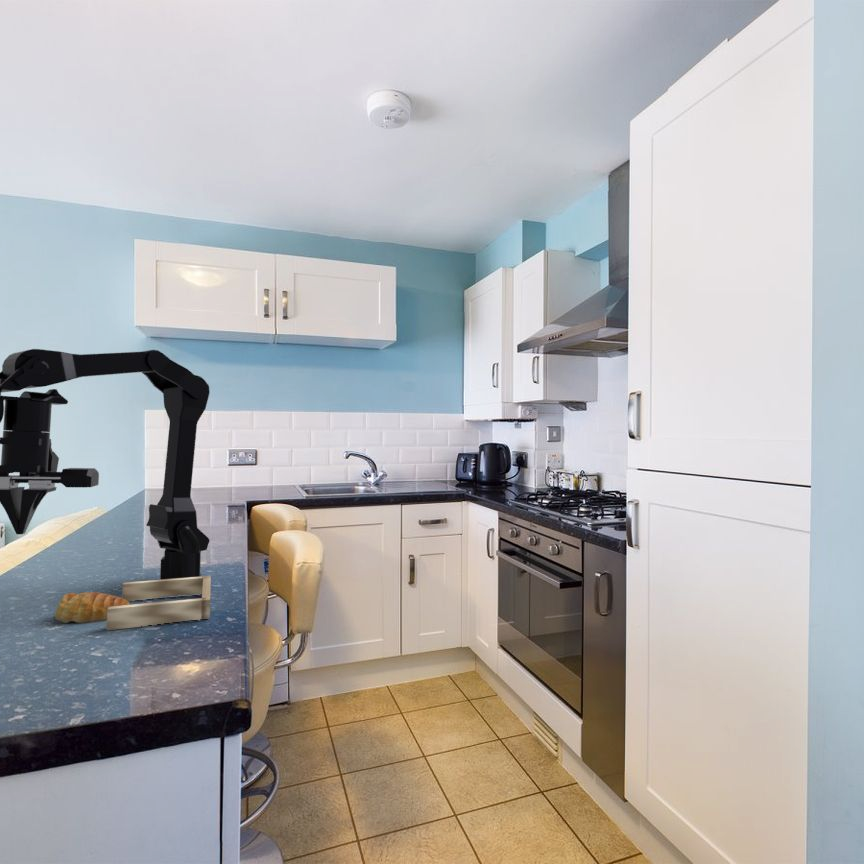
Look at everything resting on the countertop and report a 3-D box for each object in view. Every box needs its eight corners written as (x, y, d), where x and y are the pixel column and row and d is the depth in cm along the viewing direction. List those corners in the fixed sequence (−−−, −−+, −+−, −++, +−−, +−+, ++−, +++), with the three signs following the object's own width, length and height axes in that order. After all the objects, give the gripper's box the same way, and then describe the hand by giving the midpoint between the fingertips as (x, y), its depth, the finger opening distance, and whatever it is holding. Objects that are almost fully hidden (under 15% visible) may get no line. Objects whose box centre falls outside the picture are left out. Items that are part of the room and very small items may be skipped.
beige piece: (210, 592, 94) (210, 575, 94) (209, 619, 80) (210, 599, 80) (123, 600, 89) (123, 582, 89) (106, 630, 75) (107, 609, 75)
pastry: (135, 608, 85) (136, 585, 85) (120, 623, 79) (121, 597, 79) (70, 611, 83) (71, 587, 83) (49, 627, 77) (50, 601, 77)
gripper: (108, 435, 91) (103, 525, 91) (-26, 430, 84) (-32, 527, 84) (93, 433, 81) (87, 535, 80) (-61, 428, 74) (-69, 539, 73)
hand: (20, 534), depth 80 cm, fingers closed
